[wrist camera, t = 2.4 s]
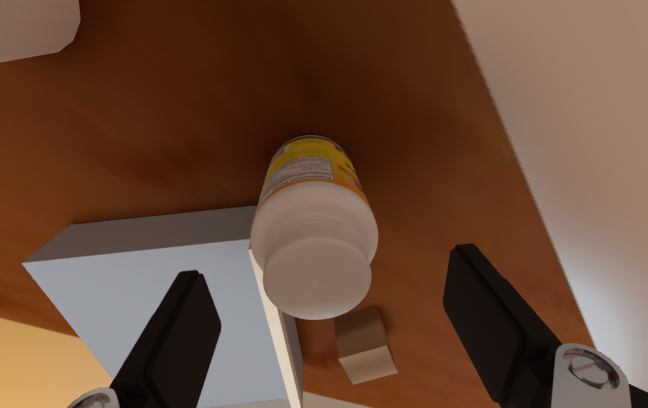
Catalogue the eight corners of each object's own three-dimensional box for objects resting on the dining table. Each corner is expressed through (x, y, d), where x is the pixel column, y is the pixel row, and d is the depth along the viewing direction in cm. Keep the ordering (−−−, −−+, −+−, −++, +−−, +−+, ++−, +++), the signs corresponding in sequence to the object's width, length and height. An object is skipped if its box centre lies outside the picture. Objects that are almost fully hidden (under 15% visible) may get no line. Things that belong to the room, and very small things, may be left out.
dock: (70, 224, 20) (5, 275, 16) (271, 203, 20) (262, 248, 16) (163, 373, 29) (138, 432, 24) (302, 358, 29) (302, 414, 25)
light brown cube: (333, 317, 26) (338, 359, 23) (375, 305, 26) (386, 345, 22) (347, 342, 28) (353, 384, 25) (385, 331, 28) (397, 372, 24)
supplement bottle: (353, 205, 21) (390, 328, 12) (275, 212, 20) (254, 341, 12) (351, 127, 18) (399, 211, 9) (262, 135, 18) (220, 227, 9)
